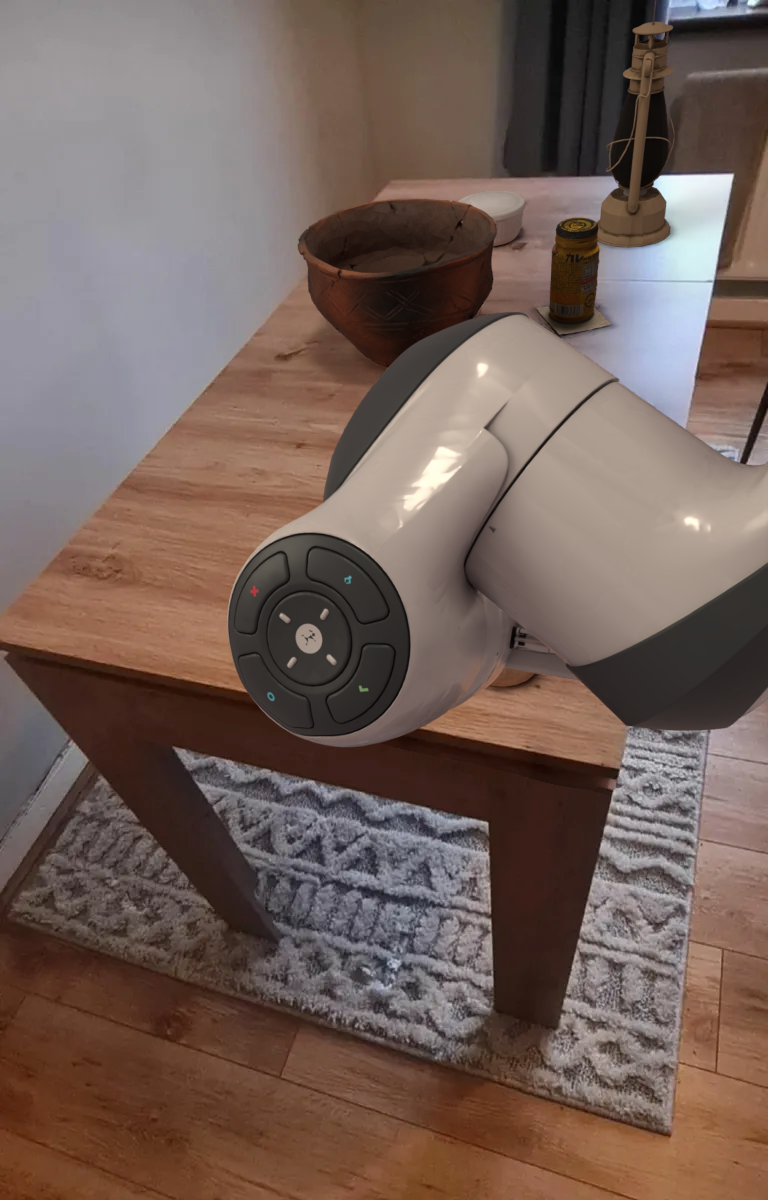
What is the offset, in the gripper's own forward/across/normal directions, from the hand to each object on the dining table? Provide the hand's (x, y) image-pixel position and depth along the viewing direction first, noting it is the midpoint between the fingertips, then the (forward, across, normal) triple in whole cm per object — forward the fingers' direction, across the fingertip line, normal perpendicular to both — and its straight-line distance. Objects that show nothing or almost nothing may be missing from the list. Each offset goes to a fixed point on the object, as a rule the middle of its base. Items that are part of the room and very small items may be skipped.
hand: (477, 617), depth 54 cm
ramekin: (+76, +21, -58) cm, 98 cm away
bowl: (+51, +24, -33) cm, 65 cm away
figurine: (+14, 0, +4) cm, 15 cm away
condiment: (+57, +4, -39) cm, 70 cm away
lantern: (+78, -1, -60) cm, 99 cm away
